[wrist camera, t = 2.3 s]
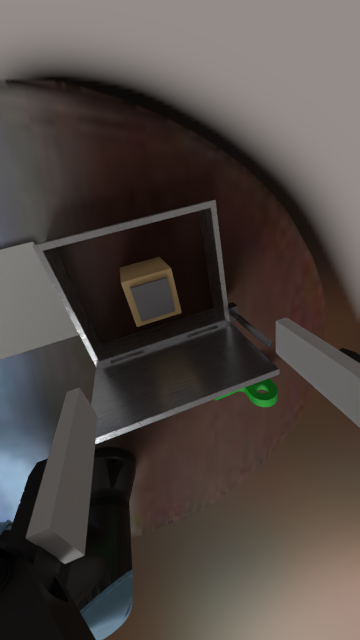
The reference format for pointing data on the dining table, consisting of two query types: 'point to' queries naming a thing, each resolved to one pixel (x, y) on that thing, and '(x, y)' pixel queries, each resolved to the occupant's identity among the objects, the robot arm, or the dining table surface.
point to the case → (163, 342)
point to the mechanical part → (258, 398)
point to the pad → (29, 304)
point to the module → (150, 290)
